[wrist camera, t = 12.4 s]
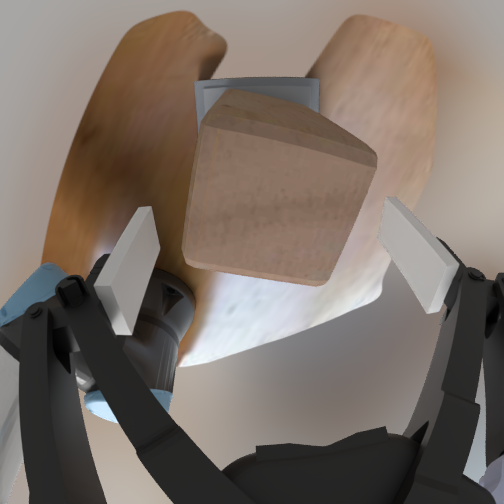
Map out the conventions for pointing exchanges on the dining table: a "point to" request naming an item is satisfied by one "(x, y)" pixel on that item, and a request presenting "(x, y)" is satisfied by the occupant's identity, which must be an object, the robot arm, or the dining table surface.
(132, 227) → the robot arm
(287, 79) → the slate tray
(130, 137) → the dining table surface
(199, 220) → the wooden block
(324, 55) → the dining table surface
